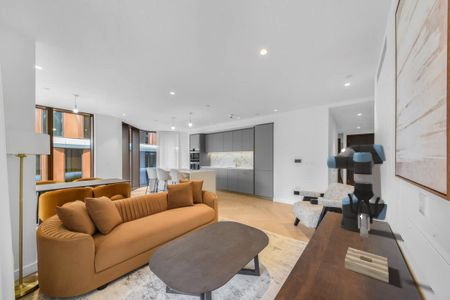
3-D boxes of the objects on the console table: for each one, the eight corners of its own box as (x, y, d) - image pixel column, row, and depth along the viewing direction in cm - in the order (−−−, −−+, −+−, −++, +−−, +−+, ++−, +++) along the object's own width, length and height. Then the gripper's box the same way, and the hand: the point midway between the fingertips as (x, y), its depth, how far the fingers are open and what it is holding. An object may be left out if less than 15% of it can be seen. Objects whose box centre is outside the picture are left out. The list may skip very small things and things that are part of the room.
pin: (360, 234, 91) (360, 213, 92) (368, 236, 89) (367, 214, 90) (360, 236, 89) (359, 214, 89) (368, 238, 87) (367, 216, 87)
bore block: (348, 254, 99) (348, 247, 99) (387, 266, 89) (386, 258, 89) (344, 268, 87) (344, 259, 87) (388, 283, 77) (388, 274, 77)
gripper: (343, 181, 93) (343, 226, 92) (384, 185, 82) (385, 235, 81) (345, 180, 98) (345, 222, 97) (384, 183, 87) (385, 230, 87)
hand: (364, 228), depth 89 cm, fingers closed on pin, 3 cm apart
